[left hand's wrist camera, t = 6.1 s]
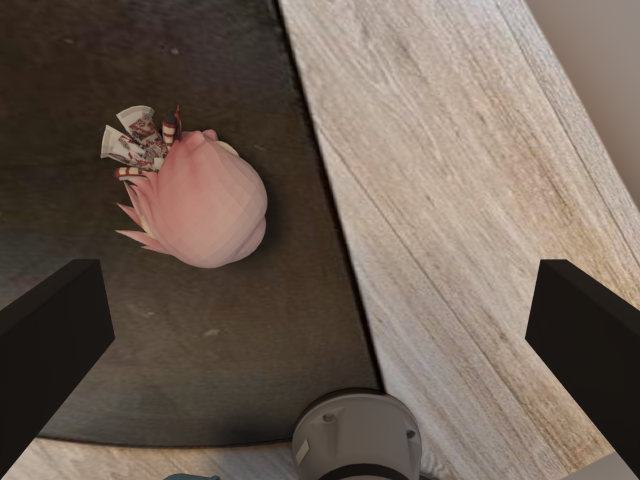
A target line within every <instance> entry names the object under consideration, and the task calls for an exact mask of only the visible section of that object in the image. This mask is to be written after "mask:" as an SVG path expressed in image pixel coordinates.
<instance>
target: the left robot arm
mask: <svg viewBox="0 0 640 480" xmlns="http://www.w3.org/2000/svg"><path fill="white" fill-rule="evenodd" d="M114 340H115V335H114V330H113V325H112V320H111V315H110V310H109V305H108V300H107V295H106V290H105V285H104V280H103V275H102V270H101V265H100V260H99V259H74V260H72V261H71V262H69V263H68V264H66V265H65V266H64V267H62V268H61V269H59V270H58V271H56V272H55V273H54V274H52V275H51V276H49V277H48V278H46V279H45V280H44V281H42V282H41V283H39V284H38V285H36V286H35V287H34V288H32V289H31V290H29V291H28V292H26V293H25V294H24V295H22V296H21V297H19V298H18V299H16V300H15V301H14V302H12V303H11V304H9V305H8V306H7V307H5V308H4V309H2V310H1V311H0V480H1V479H2V477H3V476H4V475H5V474H6V473H7V471H8V470H9V469H10V468H11V466H12V465H13V464H14V463H15V461H16V460H17V459H18V458H19V457H20V455H21V454H22V453H23V452H24V450H25V449H26V448H27V447H28V445H29V444H30V443H31V442H32V441H33V439H34V438H35V437H36V436H37V434H38V433H39V432H40V431H41V429H42V428H43V427H44V426H45V425H46V423H47V422H48V421H49V420H50V418H51V417H52V416H53V415H54V413H55V412H56V411H57V410H58V409H59V407H60V406H61V405H62V404H63V402H64V401H65V400H66V399H67V397H68V396H69V395H70V394H71V393H72V391H73V390H74V389H75V388H76V386H77V385H78V384H79V383H80V381H81V380H82V379H83V378H84V377H85V375H86V374H87V373H88V372H89V370H90V369H91V368H92V367H93V365H94V364H95V363H96V362H97V361H98V359H99V358H100V357H101V356H102V354H103V353H104V352H105V351H106V349H107V348H108V347H109V346H110V345H111V343H112V342H113V341H114ZM525 340H526V341H527V342H528V343H529V345H530V346H531V347H532V348H533V349H534V351H535V352H536V353H537V354H538V356H539V357H540V358H541V359H542V361H543V362H544V363H545V364H546V365H547V367H548V368H549V369H550V370H551V372H552V373H553V374H554V375H555V377H556V378H557V379H558V380H559V381H560V383H561V384H562V385H563V386H564V388H565V389H566V390H567V391H568V393H569V394H570V395H571V396H572V397H573V399H574V400H575V401H576V402H577V404H578V405H579V406H580V407H581V409H582V410H583V411H584V412H585V413H586V415H587V416H588V417H589V418H590V420H591V421H592V422H593V423H594V425H595V426H596V427H597V428H598V429H599V431H600V432H601V433H602V434H603V436H604V437H605V438H606V439H607V441H608V442H609V443H610V444H611V445H612V447H613V448H614V449H615V450H616V452H617V453H618V454H619V455H620V457H621V458H622V459H623V460H624V461H625V463H626V464H627V465H628V466H629V468H630V469H631V470H632V471H633V473H634V474H635V475H636V476H637V477H638V479H639V480H640V311H639V310H638V309H636V308H635V307H633V306H632V305H631V304H629V303H628V302H626V301H625V300H624V299H622V298H621V297H619V296H618V295H616V294H615V293H614V292H612V291H611V290H609V289H608V288H606V287H605V286H604V285H602V284H601V283H599V282H598V281H596V280H595V279H594V278H592V277H591V276H589V275H588V274H586V273H585V272H584V271H582V270H581V269H579V268H578V267H576V266H575V265H574V264H572V263H571V262H569V261H568V260H566V259H541V260H540V265H539V270H538V275H537V280H536V285H535V290H534V295H533V300H532V305H531V310H530V315H529V320H528V325H527V330H526V335H525ZM292 453H293V461H294V465H295V468H296V471H297V474H298V478H299V480H431V479H429V478H426V477H424V476H421V475H419V474H420V464H421V455H422V446H421V437H420V433H419V429H418V426H417V423H416V420H415V418H414V416H413V415H412V413H411V412H410V410H409V409H408V408H407V407H406V406H405V405H404V404H403V403H401V402H400V401H399V400H397V399H395V398H394V397H392V396H390V395H388V394H385V393H382V392H379V391H375V390H370V389H345V390H340V391H336V392H333V393H330V394H327V395H325V396H323V397H321V398H319V399H317V400H316V401H314V402H313V403H312V404H310V405H309V406H308V407H307V408H306V409H305V410H304V411H303V412H302V414H301V415H300V417H299V418H298V420H297V422H296V424H295V427H294V431H293V439H292ZM164 480H220V477H218V476H213V477H211V478H209V477H202V476H195V475H189V474H173V475H170V476H168V477H167V478H165V479H164Z"/></svg>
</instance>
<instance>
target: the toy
mask: <svg viewBox="0 0 640 480" xmlns="http://www.w3.org/2000/svg"><path fill="white" fill-rule="evenodd" d="M174 109H175V110H174V111H172V112H171V113H172V114H167V115H165V117H164V119H163V127H162V128H163V129H161V130H160V131H159V132H158V130H157V128H156V126H155V124H154V122H153V120H152V116H153V114H154V110H153V109H152V108H150V107H146V106H134V107H131V108H129V109H126V110H124V111H122V112H121V113H119V114H117V117H118V118H119V120H120V121H121V123H122V124H123V125H124V127H125V128H126V130H127V132H126V133H125V134H122V133H120V132H119V131H117V130H115V129H113V128H112V127H110V126H108V125H103V126H101V127H100V129H99V132H100V133H101V134H102V135H103V136H104V137H103V142H102V150H101V155H100V156H101V158H104V157H108V156H109V157H111V158H113V159H115V160H118V161H120V162H122V163H125V164H127V165H131V166H134V167H132V168H117V169H115V170H114V172H113V177H114V178H115V179H116V180H123V181H124V180H129V181H131V182H133V183H134V184H136V185H137V186H138V187H136V186H132V185H130V186H131V187H132V188H133V189H134V190H135V191H134V190H133V189H132V188H131V187H130V186H129V185H128V184H127V183H126V182H125V181H124V184H125V186H126V188H127V191H128V193H129V196H130V198H131V201H132V203H133V206H134V208H132V207H128V206H125V205H121V204H118V203H117V204H118V205H119V206H120V207H121V208H122V209H123V210H124V211H125V212H126V213H127V214H128V215H129V216H130V217H131V218H132V219H133V220H134V221H135V222H136V223H137V224H138V225H139V226H141V227H142V228H143V229H144V230H145V231H146V232H147V233H144V232H140V231H117V232H119V233H122V234H124V235H127V236H129V237H131V238H133V239H135V240H137V241H139V242H141V243H144V244H146V245H147V246H143V248H146V249H150V250H154V251H158V252H162V253H166V254H170V255H173V256H175V257H177V258H178V259H179V260H181V261H183V262H185V263H187V264H190V265H193V266H197V267H202V268H216V267H220V266H223V265H225V264H228V263H231V262H235V261H238V260H240V259H242V258H244V257H246V256H248V255H250V254H251V253H252V252H253V251H254V250H255V249H256V248H257V247H258V245H259V244H260V243H261V241H262V239H263V236H264V234H265V228H266V220H265V217H264V215H265V212H266V209H267V194H266V190H265V187H264V185H263V182H262V180H261V178H260V177H259V175H258V173H257V172H256V171H255V170H254V169H253V168H252V166H251V165H250V164H248V163H247V162H246V161H244V160H243V159H242V158H240V157H239V155H238V153H237V152H236V151H235V150H234V149H233V148H232V147H231V146H229V145H228V144H226V143H224V142H222V141H218V137H217V135H216V133H215V131H213V130H205V131H204V132H200V131H195V132H181V121H180V111H179V106H177V107H175V108H174ZM177 110H178V111H177ZM159 133H161V134H159Z"/></svg>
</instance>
